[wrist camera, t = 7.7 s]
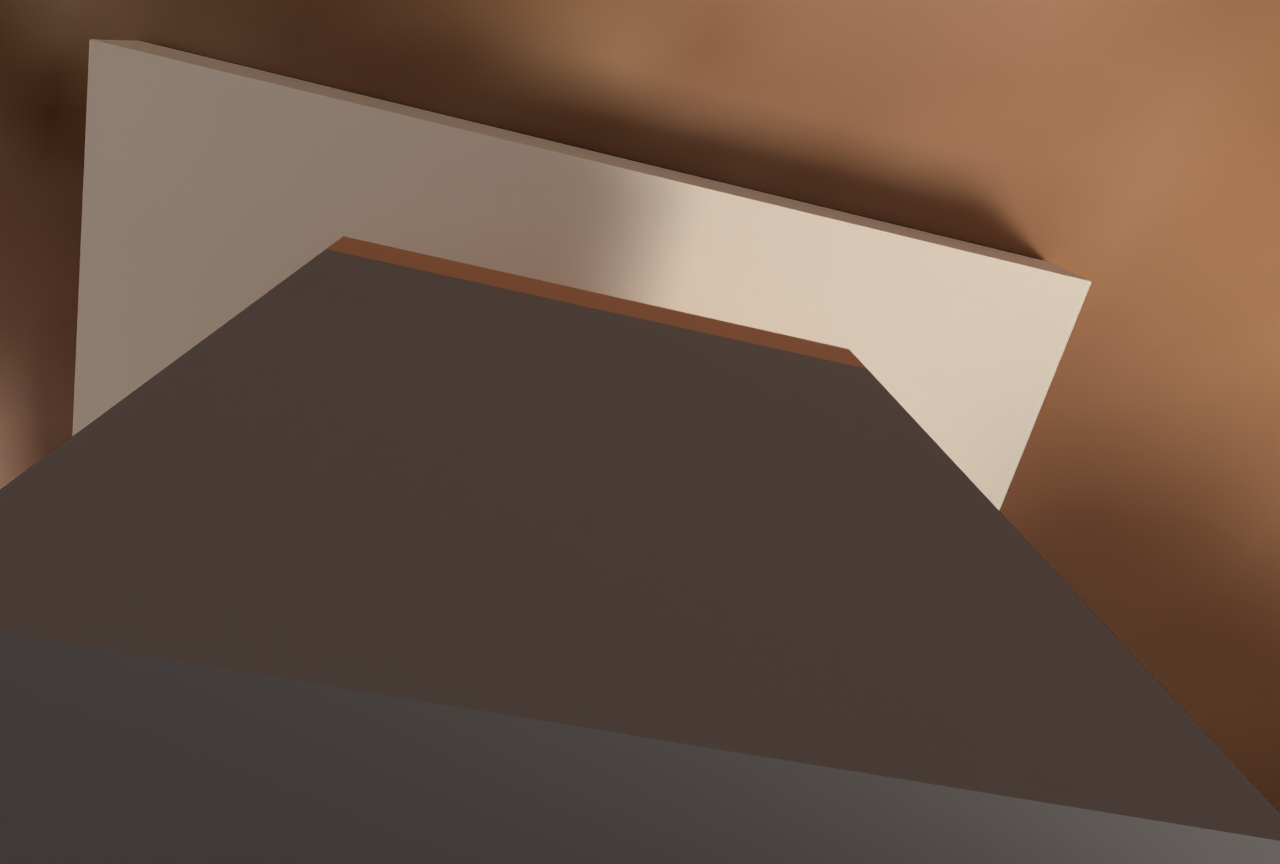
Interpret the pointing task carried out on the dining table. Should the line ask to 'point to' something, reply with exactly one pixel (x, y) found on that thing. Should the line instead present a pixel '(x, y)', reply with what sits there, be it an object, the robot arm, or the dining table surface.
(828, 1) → the dining table surface
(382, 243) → the board
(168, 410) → the block
